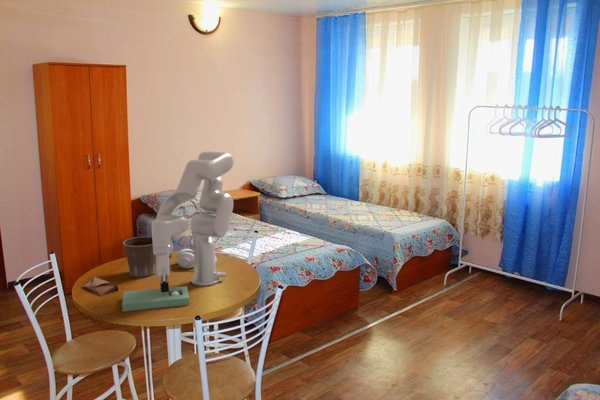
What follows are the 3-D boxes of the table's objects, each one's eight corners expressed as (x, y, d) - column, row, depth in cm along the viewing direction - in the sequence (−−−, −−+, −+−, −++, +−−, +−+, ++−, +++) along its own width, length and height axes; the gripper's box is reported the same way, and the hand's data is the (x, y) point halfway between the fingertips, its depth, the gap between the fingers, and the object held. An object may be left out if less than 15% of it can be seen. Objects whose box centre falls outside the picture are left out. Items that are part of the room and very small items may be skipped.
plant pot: (154, 279, 244) (152, 246, 241) (120, 279, 244) (117, 245, 241) (164, 268, 260) (162, 236, 257) (131, 267, 260) (129, 236, 257)
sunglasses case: (78, 287, 233) (84, 273, 235) (91, 291, 239) (97, 277, 240) (101, 296, 223) (107, 281, 224) (114, 300, 228) (120, 285, 230)
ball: (177, 298, 222) (180, 291, 222) (177, 301, 219) (180, 294, 218) (169, 296, 221) (172, 288, 221) (169, 299, 218) (172, 292, 217)
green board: (187, 292, 228) (186, 286, 227) (189, 304, 214) (189, 297, 214) (124, 298, 221) (123, 291, 220) (122, 311, 208) (121, 304, 207)
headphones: (177, 270, 254) (217, 273, 260) (178, 255, 253) (219, 258, 258) (175, 259, 271) (213, 262, 277) (177, 245, 270) (215, 247, 276)
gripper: (152, 244, 220) (155, 286, 224) (153, 255, 206) (155, 299, 210) (171, 243, 222) (173, 284, 226) (172, 253, 208) (174, 297, 212)
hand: (164, 291), depth 218 cm, fingers closed
